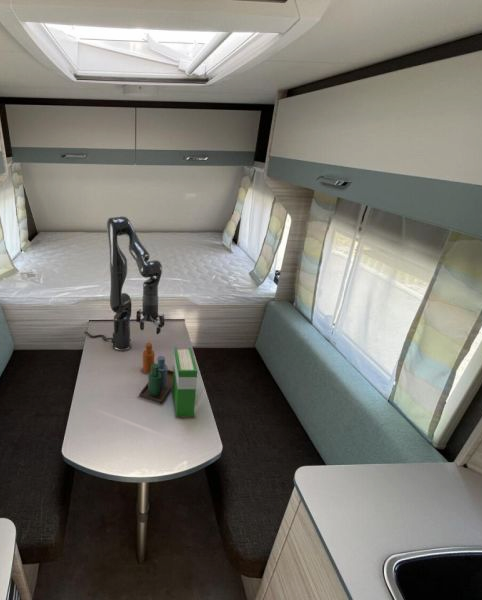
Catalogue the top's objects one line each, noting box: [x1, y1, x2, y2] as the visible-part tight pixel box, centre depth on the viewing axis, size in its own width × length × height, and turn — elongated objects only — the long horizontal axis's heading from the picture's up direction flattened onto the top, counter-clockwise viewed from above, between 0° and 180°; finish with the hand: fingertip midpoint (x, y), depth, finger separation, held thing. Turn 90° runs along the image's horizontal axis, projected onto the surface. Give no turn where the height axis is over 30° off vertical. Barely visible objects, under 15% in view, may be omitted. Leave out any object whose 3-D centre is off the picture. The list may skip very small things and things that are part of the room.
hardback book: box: [172, 347, 198, 418], centre depth 143 cm, size 18×7×24 cm, turn 1°
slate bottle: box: [157, 355, 168, 390], centre depth 155 cm, size 6×6×16 cm
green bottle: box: [147, 363, 161, 398], centre depth 150 cm, size 6×6×16 cm
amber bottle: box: [142, 342, 156, 374], centre depth 167 cm, size 6×6×16 cm
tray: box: [138, 369, 174, 405], centre depth 158 cm, size 11×23×2 cm, turn 153°
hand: (150, 331), depth 162 cm, fingers open, 8 cm apart
